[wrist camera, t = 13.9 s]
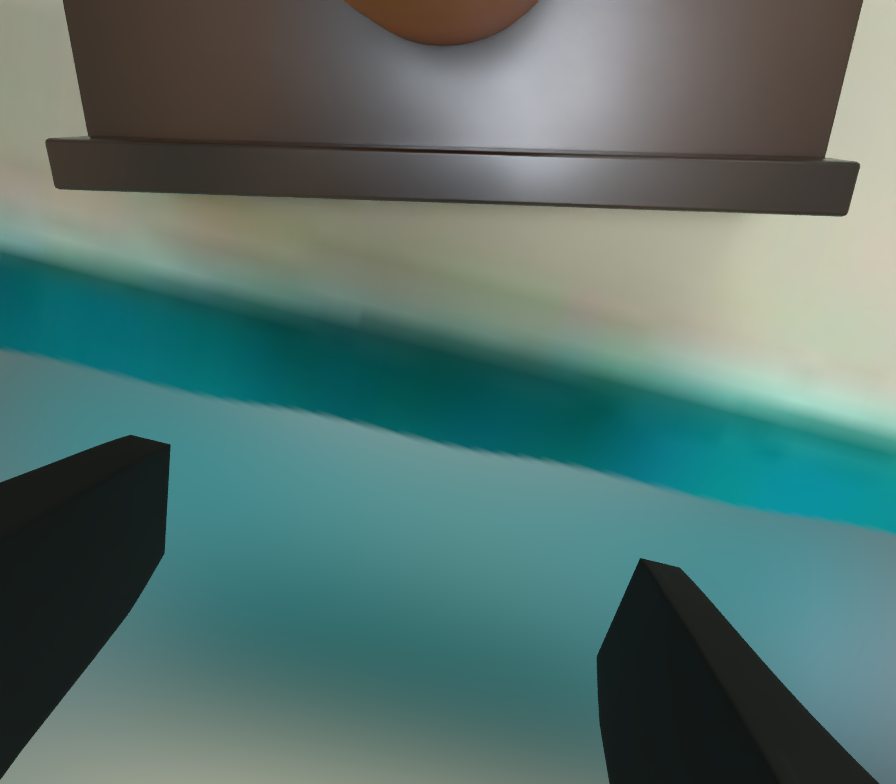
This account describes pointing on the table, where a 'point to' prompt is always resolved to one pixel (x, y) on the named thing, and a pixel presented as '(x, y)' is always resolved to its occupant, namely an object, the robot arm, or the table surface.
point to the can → (443, 18)
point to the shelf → (466, 105)
